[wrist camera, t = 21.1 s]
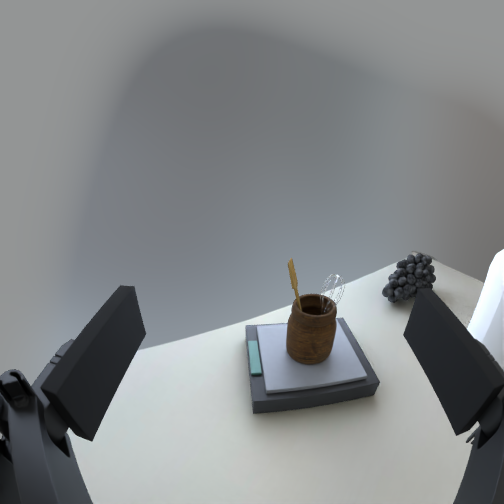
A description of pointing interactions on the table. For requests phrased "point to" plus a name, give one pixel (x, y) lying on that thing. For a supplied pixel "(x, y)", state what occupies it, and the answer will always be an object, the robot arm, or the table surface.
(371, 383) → the scale
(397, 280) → the fruit
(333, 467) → the table surface
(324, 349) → the utensil holder
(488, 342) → the can
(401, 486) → the table surface
